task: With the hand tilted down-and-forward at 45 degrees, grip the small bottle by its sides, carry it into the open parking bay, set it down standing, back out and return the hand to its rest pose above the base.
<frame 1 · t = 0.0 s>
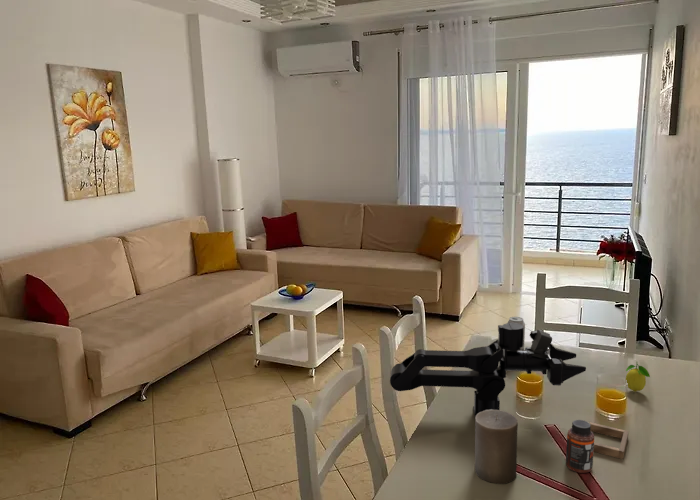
hand: (580, 361, 149), 17 cm above the table, tool horizontal, fingers open, 9 cm apart
bay: (602, 442, 139), on the table
lemon: (635, 392, 166), on the table
pillar candle: (494, 472, 128), on the table
supplement bottle: (578, 467, 129), on the table
energy drink can: (514, 359, 193), on the table
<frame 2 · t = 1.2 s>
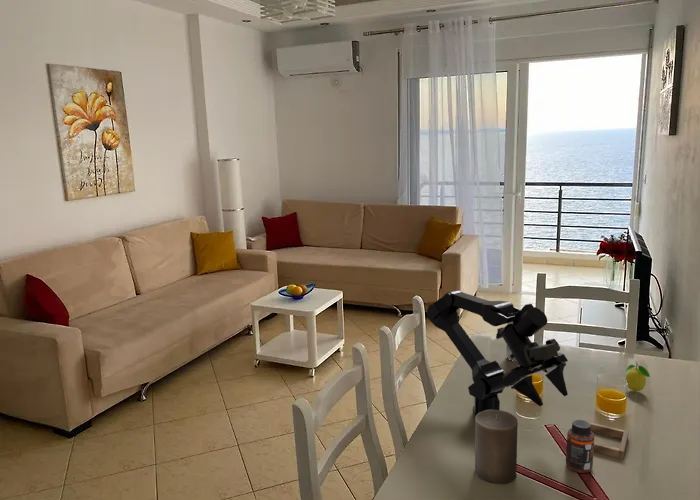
hand: (554, 400, 134), 14 cm above the table, tool tilted 45°, fingers open, 9 cm apart
nothing on the table moved.
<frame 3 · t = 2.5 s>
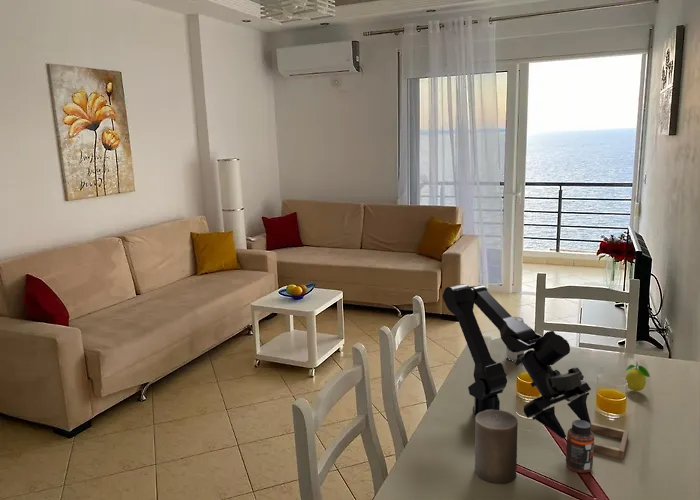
hand: (577, 432, 128), 9 cm above the table, tool tilted 45°, fingers open, 9 cm apart
nothing on the table moved.
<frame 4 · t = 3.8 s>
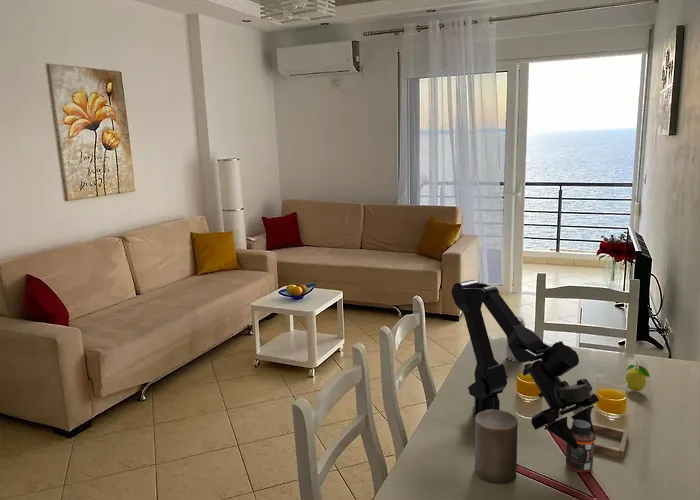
hand: (585, 444, 127), 7 cm above the table, tool tilted 45°, fingers closed on supplement bottle, 6 cm apart
supplement bottle: (578, 467, 129), on the table, touching gripper
everything else where it was.
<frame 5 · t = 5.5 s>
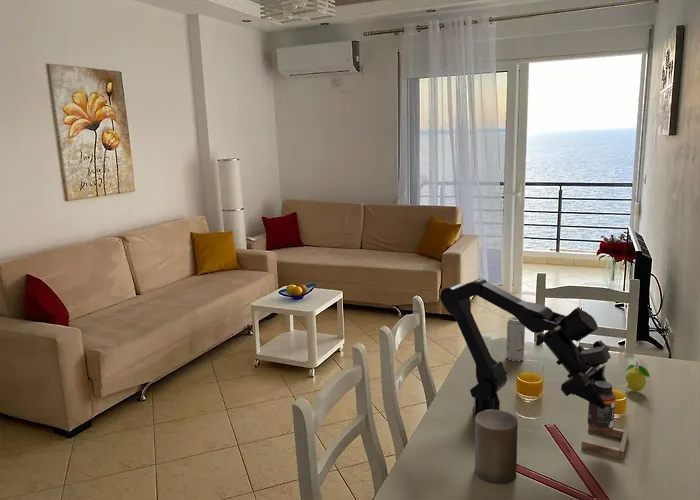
hand: (608, 402, 132), 13 cm above the table, tool tilted 45°, fingers closed on supplement bottle, 6 cm apart
supplement bottle: (600, 427, 135), point 6 cm above the table, touching gripper
everything else where it was.
when the fingers open (8 cm above the table, at t = 7.3 s): supplement bottle stays where it is, on the table.
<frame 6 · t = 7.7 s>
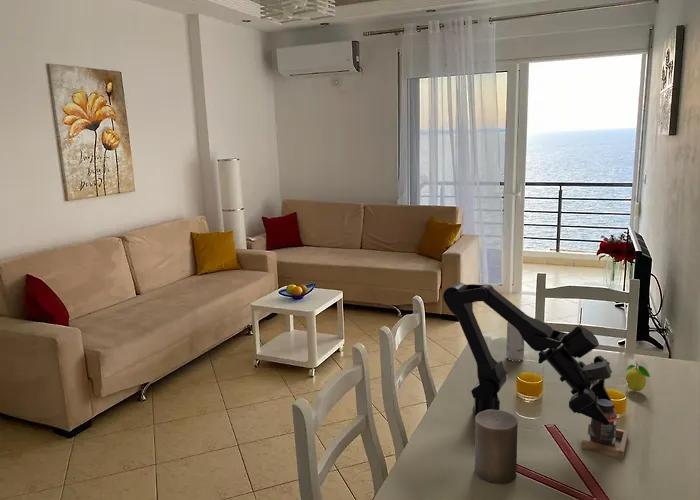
hand: (610, 416, 137), 8 cm above the table, tool tilted 45°, fingers open, 9 cm apart
supplement bottle: (602, 443, 139), on the table
everything else where it was.
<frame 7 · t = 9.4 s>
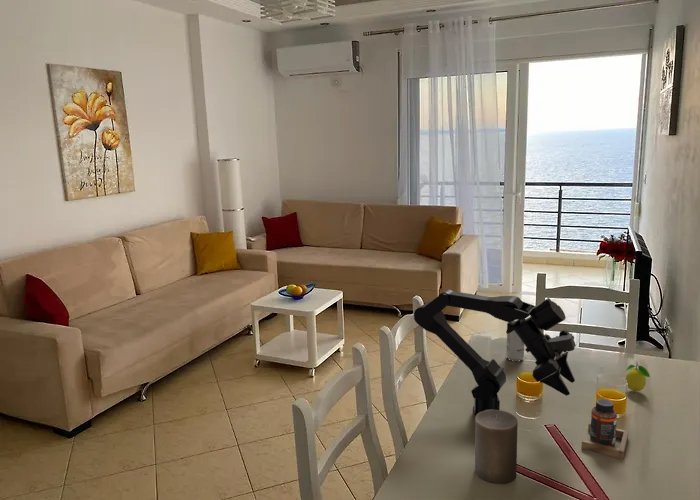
hand: (571, 388, 141), 13 cm above the table, tool tilted 40°, fingers open, 9 cm apart
nothing on the table moved.
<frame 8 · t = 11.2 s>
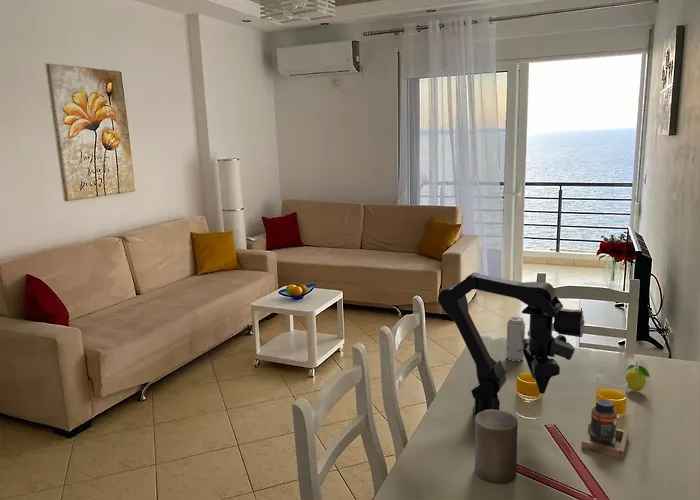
hand: (538, 385, 146), 12 cm above the table, tool pointing down, fingers open, 9 cm apart
nothing on the table moved.
at the end: supplement bottle 0.2 cm from the bay (horizontally); supplement bottle tilted 0°; supplement bottle moved 14.3 cm from its start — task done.
